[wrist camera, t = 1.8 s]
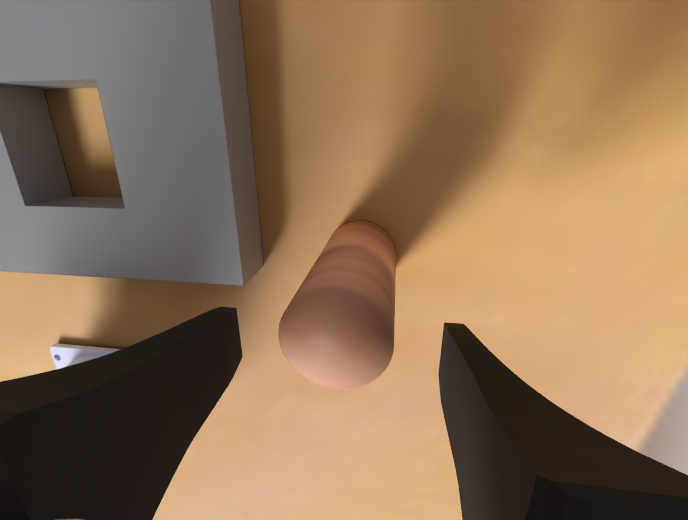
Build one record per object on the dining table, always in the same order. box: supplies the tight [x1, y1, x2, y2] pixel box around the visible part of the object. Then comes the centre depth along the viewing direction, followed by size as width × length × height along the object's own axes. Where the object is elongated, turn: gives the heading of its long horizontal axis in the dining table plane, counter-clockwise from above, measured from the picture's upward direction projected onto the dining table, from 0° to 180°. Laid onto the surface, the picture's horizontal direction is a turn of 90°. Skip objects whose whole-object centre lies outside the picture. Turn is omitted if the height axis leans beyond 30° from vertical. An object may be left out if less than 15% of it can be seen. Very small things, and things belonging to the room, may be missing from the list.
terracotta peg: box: [279, 220, 396, 389], centre depth 16 cm, size 4×4×9 cm
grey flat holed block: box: [0, 0, 263, 286], centre depth 19 cm, size 14×18×3 cm
